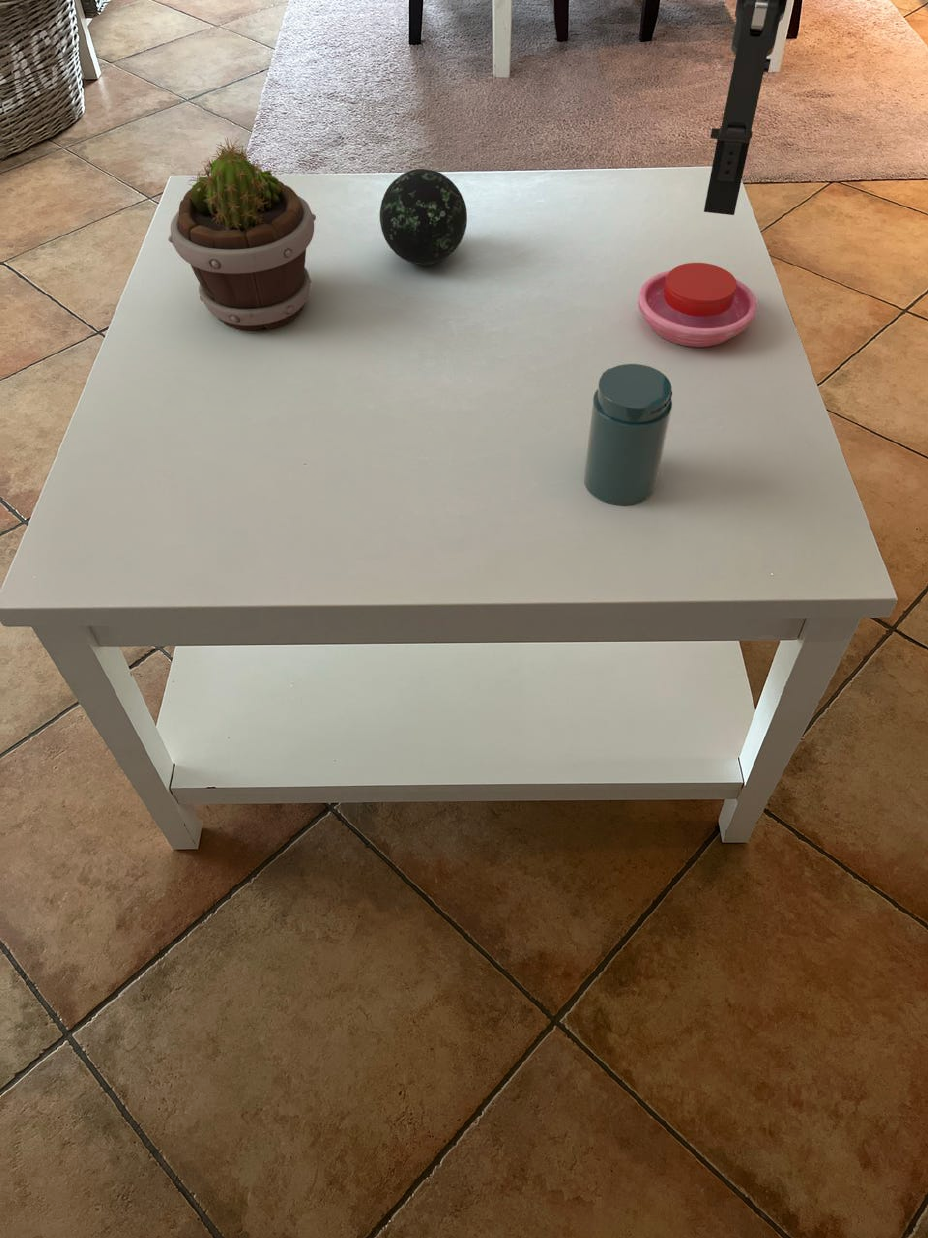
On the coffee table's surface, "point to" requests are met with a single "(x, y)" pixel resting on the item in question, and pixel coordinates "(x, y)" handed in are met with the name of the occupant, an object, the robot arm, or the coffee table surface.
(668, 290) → the jam lid
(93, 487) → the coffee table surface
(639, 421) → the lidded canister
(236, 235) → the flowerpot
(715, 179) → the robot arm
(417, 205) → the decorative stone
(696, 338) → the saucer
